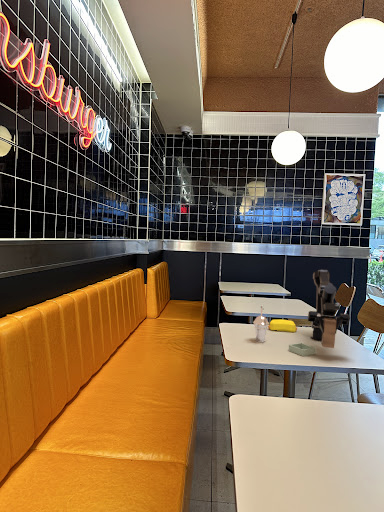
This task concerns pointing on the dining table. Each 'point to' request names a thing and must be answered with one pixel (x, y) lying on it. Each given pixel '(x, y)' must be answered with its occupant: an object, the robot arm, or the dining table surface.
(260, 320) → the cup with straw
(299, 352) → the green holder
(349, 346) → the dining table surface
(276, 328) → the yellow rounded block
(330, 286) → the robot arm
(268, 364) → the dining table surface
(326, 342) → the walnut block
